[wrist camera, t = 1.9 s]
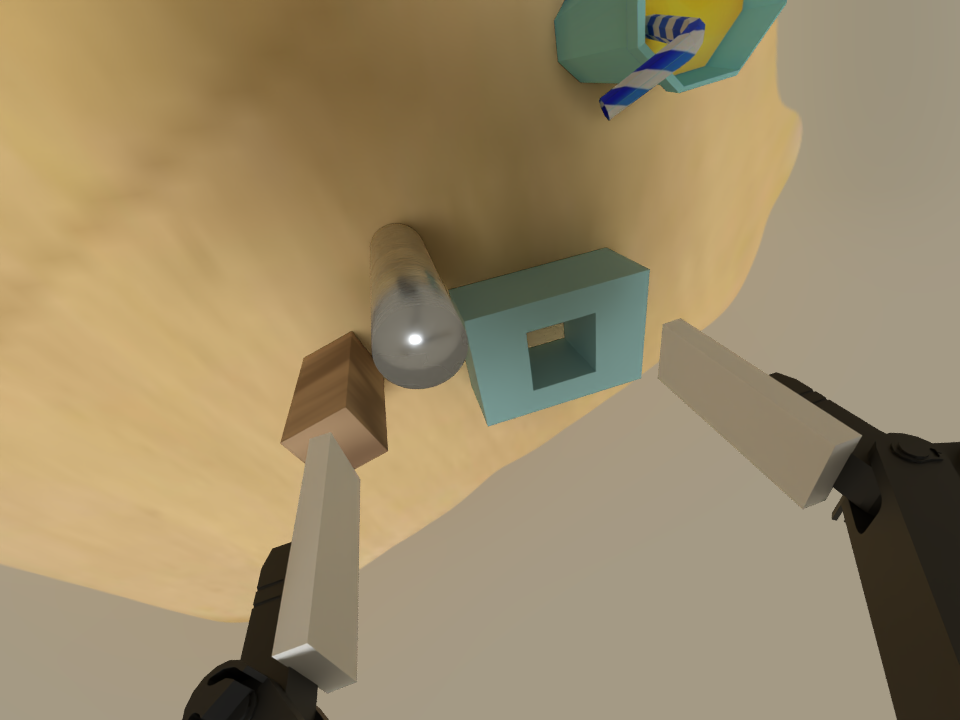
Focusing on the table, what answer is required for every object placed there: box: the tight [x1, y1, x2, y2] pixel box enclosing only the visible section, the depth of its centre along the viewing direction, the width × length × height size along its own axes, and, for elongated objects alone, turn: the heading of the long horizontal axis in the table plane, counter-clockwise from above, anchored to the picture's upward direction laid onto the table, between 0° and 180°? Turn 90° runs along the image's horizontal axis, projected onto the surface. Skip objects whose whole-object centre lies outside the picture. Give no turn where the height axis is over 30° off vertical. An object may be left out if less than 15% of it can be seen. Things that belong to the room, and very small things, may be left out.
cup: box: [554, 0, 787, 120], centre depth 18 cm, size 14×8×15 cm, turn 127°
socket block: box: [449, 248, 650, 426], centre depth 32 cm, size 10×14×6 cm
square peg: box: [281, 331, 388, 469], centre depth 28 cm, size 4×4×10 cm
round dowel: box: [370, 224, 468, 389], centre depth 22 cm, size 4×4×15 cm
